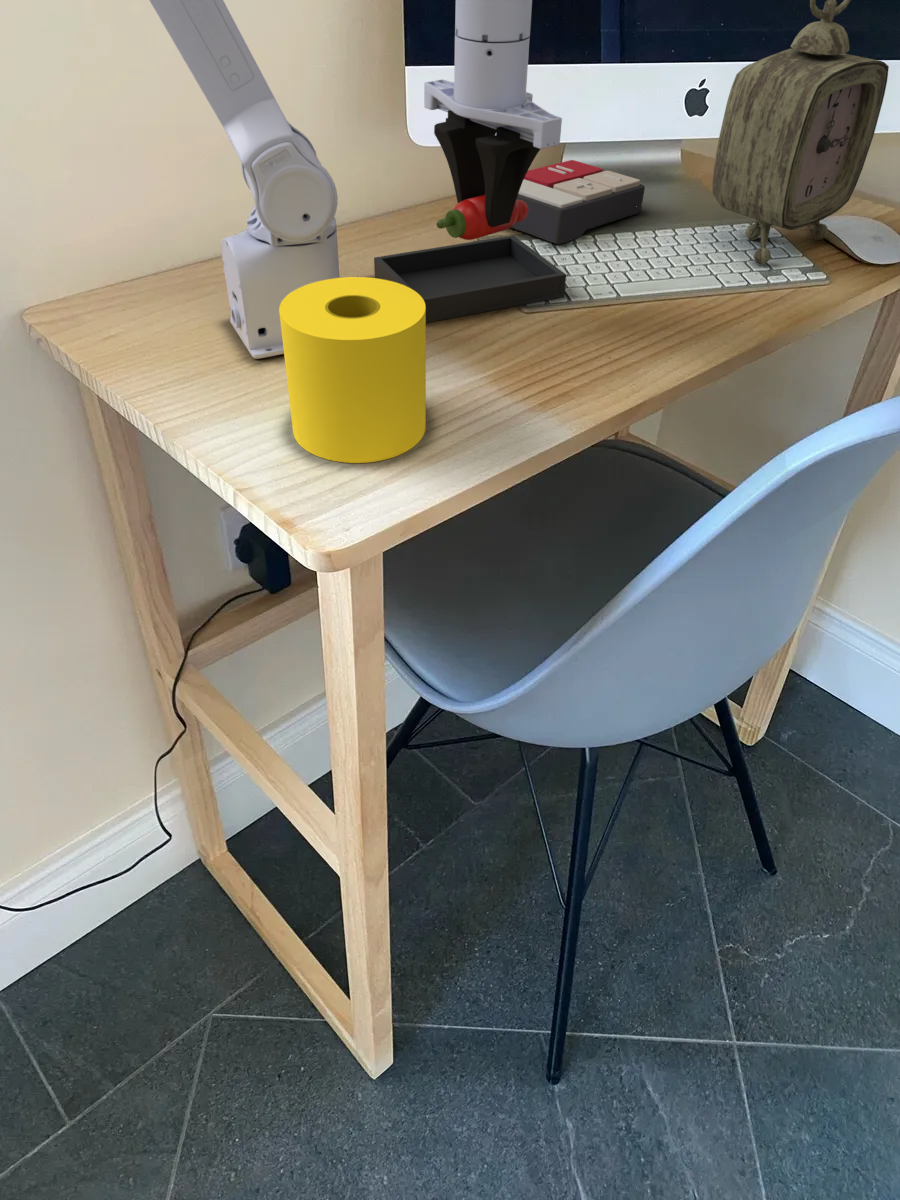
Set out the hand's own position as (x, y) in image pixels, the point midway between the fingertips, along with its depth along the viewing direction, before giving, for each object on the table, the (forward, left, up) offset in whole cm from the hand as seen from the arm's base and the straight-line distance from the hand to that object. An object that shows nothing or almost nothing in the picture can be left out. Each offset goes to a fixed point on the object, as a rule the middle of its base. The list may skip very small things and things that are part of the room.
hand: (484, 217), depth 79 cm
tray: (+1, +5, -8) cm, 10 cm away
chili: (0, 0, -1) cm, 1 cm away
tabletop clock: (+36, +3, -9) cm, 37 cm away
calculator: (+19, +18, -9) cm, 28 cm away
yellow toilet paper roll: (-17, -15, -9) cm, 24 cm away
